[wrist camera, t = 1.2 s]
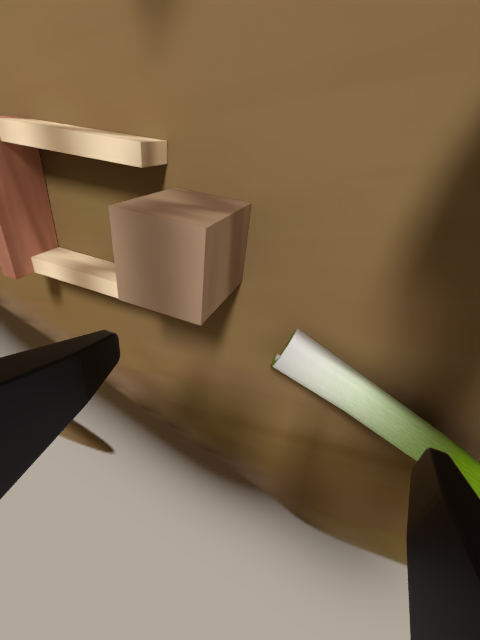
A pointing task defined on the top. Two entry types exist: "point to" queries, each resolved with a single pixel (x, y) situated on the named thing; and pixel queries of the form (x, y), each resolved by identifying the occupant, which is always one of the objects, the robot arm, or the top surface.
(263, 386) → the top surface
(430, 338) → the top surface
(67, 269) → the channel
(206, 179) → the top surface
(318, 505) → the top surface
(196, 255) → the block
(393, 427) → the leek
